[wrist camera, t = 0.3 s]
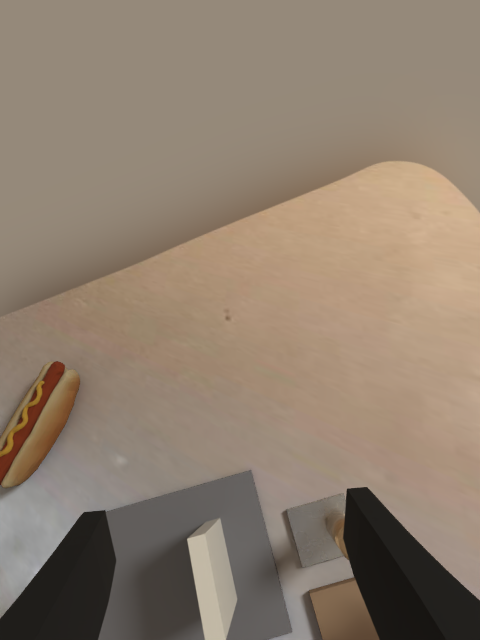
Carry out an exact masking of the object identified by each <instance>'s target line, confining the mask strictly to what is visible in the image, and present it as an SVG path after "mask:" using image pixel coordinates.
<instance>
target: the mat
mask: <svg viewBox="0 0 480 640" xmlns="http://www.w3.org/2000/svg"><path fill="white" fill-rule="evenodd" d="M106 516H107V521H108V525H109V530H110V534H111V538H112V543H113V547H114V552H115V556H116V566H115V571H114V577H113V582H112V588H111V593H110V598H109V603H108V606H107V610H106V613H105V617H104V620H103V624H102V627H101V631H100V634H99V638H98V640H205V637H204V631H203V626H202V620H201V615H200V609H199V603H198V598H197V592H196V586H195V581H194V575H193V569H192V564H191V558H190V552H189V547H188V541H187V538H189V537H190V536H191V535H192V534H193V533H194V532H195V531H196V530H197V529H199V528H200V527H201V526H202V525H203V524H204V523H205V522H207V521H210V520H214V519H217V518H220V520H221V525H222V529H223V534H224V539H225V543H226V548H227V553H228V557H229V562H230V567H231V572H232V576H233V581H234V586H235V590H236V595H237V603H236V606H235V610H234V613H233V617H232V620H231V624H230V627H229V631H228V634H227V638H226V640H267V639H270V638H274V637H277V636H281V635H284V634H288V633H291V632H292V628H291V624H290V621H289V617H288V613H287V609H286V605H285V601H284V597H283V593H282V589H281V585H280V581H279V577H278V574H277V570H276V566H275V562H274V558H273V554H272V550H271V546H270V542H269V538H268V534H267V530H266V527H265V523H264V519H263V515H262V511H261V507H260V503H259V499H258V495H257V491H256V487H255V483H254V480H253V476H252V472H251V470H250V471H246V472H243V473H239V474H236V475H232V476H229V477H225V478H222V479H218V480H215V481H211V482H208V483H204V484H201V485H198V486H194V487H191V488H187V489H184V490H180V491H177V492H173V493H170V494H166V495H163V496H159V497H156V498H153V499H149V500H146V501H142V502H139V503H135V504H132V505H128V506H125V507H121V508H118V509H114V510H111V511H107V512H106Z"/></svg>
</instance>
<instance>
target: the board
mask: <svg viewBox="0 0 480 640" xmlns="http://www.w3.org/2000/svg"><path fill="white" fill-rule="evenodd" d="M309 592H310V596H311V600H312V603H313V607H314V610H315V614H316V618H317V621H318V625H319V628H320V632H321V635H322V639H323V640H380V639H379V637H378V634H377V632H376V630H375V627H374V625H373V622H372V620H371V617H370V615H369V612H368V610H367V607H366V605H365V602H364V600H363V597H362V595H361V592H360V590H359V587H358V585H357V582H356V580H355V577H354V578H350V579H347V580H343V581H340V582H337V583H333V584H330V585H326V586H323V587H319V588H316V589H312V590H309Z"/></svg>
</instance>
